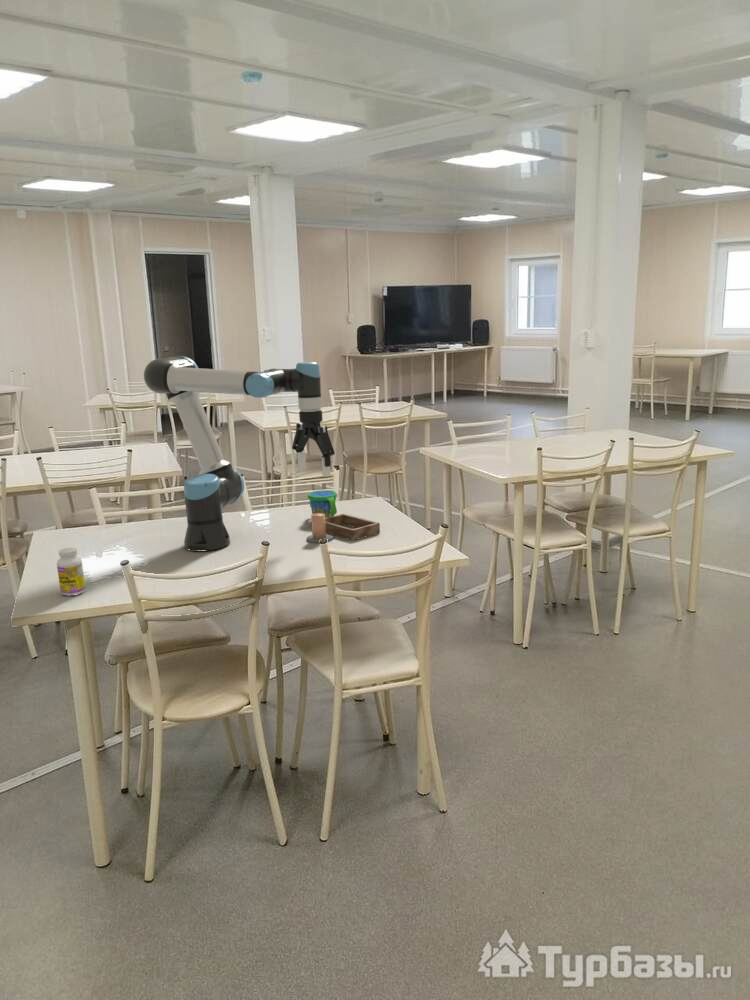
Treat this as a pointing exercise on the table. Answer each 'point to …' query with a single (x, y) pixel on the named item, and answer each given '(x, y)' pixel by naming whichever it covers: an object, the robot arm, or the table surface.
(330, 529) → the tray
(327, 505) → the snack cup
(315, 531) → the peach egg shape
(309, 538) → the slate coaster
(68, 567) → the supplement bottle
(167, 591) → the table surface
